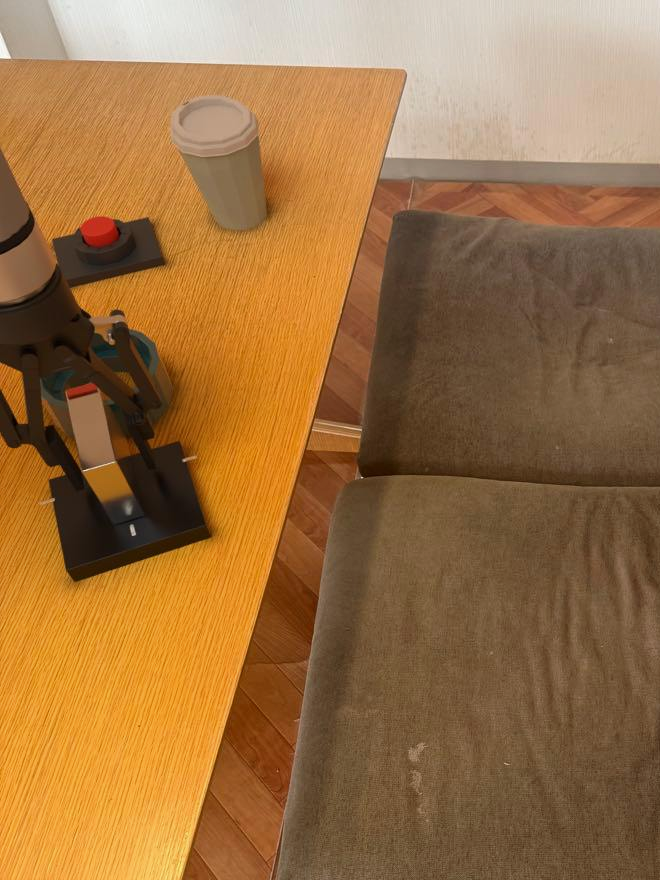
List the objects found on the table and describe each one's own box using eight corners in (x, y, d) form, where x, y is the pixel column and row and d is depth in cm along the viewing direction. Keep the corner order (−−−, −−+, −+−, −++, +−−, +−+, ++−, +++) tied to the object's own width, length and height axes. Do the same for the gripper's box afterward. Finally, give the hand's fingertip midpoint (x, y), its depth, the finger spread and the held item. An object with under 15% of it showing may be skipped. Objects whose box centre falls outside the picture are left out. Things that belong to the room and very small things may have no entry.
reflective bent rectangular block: (145, 515, 87) (115, 459, 80) (113, 525, 86) (80, 469, 79) (126, 438, 93) (96, 380, 86) (96, 446, 92) (63, 388, 85)
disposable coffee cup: (298, 217, 121) (274, 108, 108) (240, 257, 115) (208, 148, 103) (241, 189, 124) (212, 82, 112) (183, 227, 119) (145, 118, 106)
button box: (69, 295, 110) (55, 268, 107) (58, 253, 115) (45, 226, 111) (167, 271, 113) (157, 244, 110) (153, 231, 118) (143, 204, 115)
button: (88, 251, 109) (82, 238, 108) (83, 232, 111) (77, 220, 110) (121, 243, 110) (116, 231, 109) (116, 225, 113) (111, 213, 111)
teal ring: (65, 462, 94) (41, 423, 89) (49, 385, 101) (26, 344, 96) (186, 427, 98) (169, 388, 93) (162, 354, 104) (145, 314, 99)
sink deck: (66, 591, 85) (52, 573, 82) (43, 470, 94) (30, 450, 91) (225, 539, 89) (217, 520, 87) (189, 427, 98) (180, 407, 95)
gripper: (126, 222, 74) (204, 417, 93) (-130, 279, 69) (7, 472, 88) (142, 276, 70) (220, 467, 89) (-127, 340, 65) (15, 528, 84)
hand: (114, 469), depth 88 cm, fingers open, 6 cm apart
